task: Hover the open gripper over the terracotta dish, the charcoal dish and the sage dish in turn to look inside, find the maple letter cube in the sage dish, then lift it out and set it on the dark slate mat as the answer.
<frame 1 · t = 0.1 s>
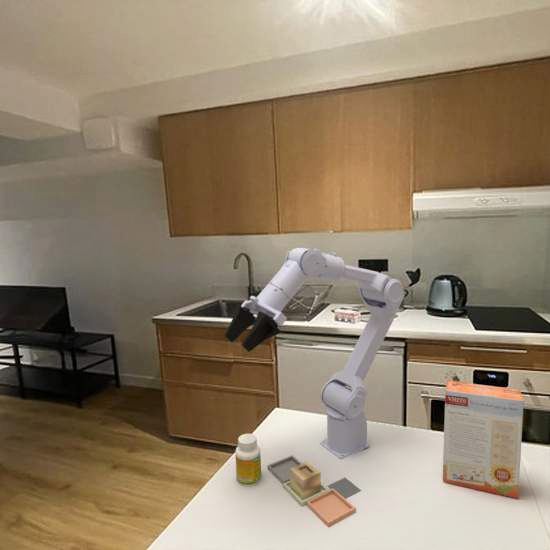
hand: (236, 343, 79), 32 cm above the countertop, tool tilted 50°, fingers open, 7 cm apart
sage dish: (305, 491, 83), on the countertop
letter cube: (305, 490, 83), resting on sage dish
slate mat: (344, 489, 83), on the countertop
terracotta dish: (330, 509, 78), on the countertop
cracker box: (478, 483, 84), on the countertop
charcoal dish: (288, 472, 89), on the countertop
supplement bottle: (249, 480, 87), on the countertop
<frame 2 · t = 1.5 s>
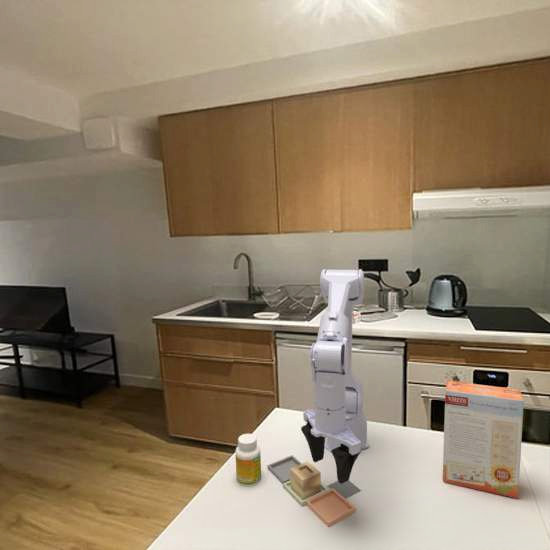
hand: (330, 470, 76), 8 cm above the countertop, tool pointing down, fingers open, 7 cm apart
nothing on the countertop moved.
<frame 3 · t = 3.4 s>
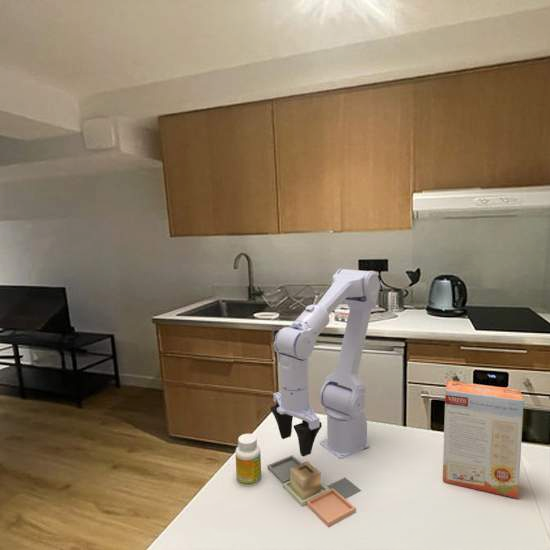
hand: (295, 445, 85), 8 cm above the countertop, tool pointing down, fingers open, 7 cm apart
nothing on the countertop moved.
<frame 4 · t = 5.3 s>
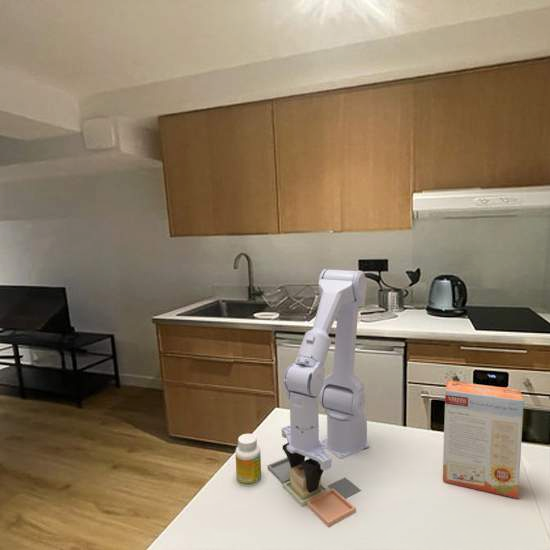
hand: (305, 483, 83), 2 cm above the countertop, tool pointing down, fingers closed on letter cube, 4 cm apart
letter cube: (305, 490, 83), resting on sage dish, touching gripper
everything else where it was.
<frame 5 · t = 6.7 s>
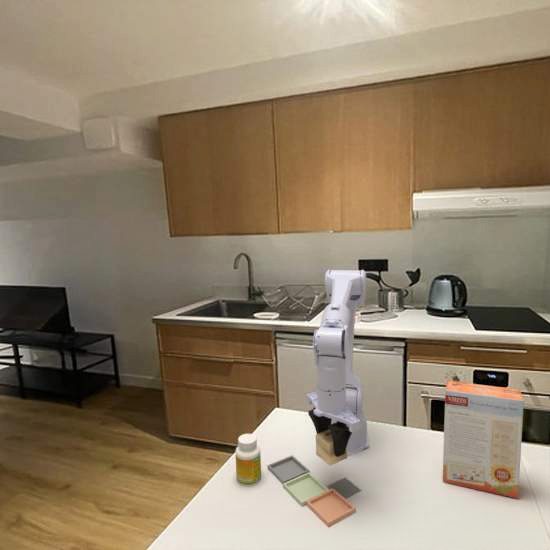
hand: (331, 448, 82), 9 cm above the countertop, tool pointing down, fingers closed on letter cube, 4 cm apart
letter cube: (331, 456, 82), point 8 cm above the countertop, touching gripper
everything else where it was.
when the fingers open (3 cm above the countertop, at t = 8.5 s): letter cube drops 1 cm, resting on slate mat.
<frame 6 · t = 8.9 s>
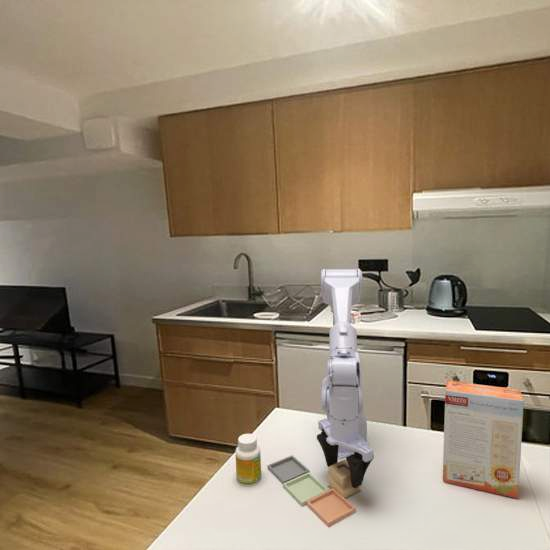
hand: (344, 475, 83), 3 cm above the countertop, tool pointing down, fingers open, 7 cm apart
letter cube: (343, 488, 83), resting on slate mat
everything else where it was.
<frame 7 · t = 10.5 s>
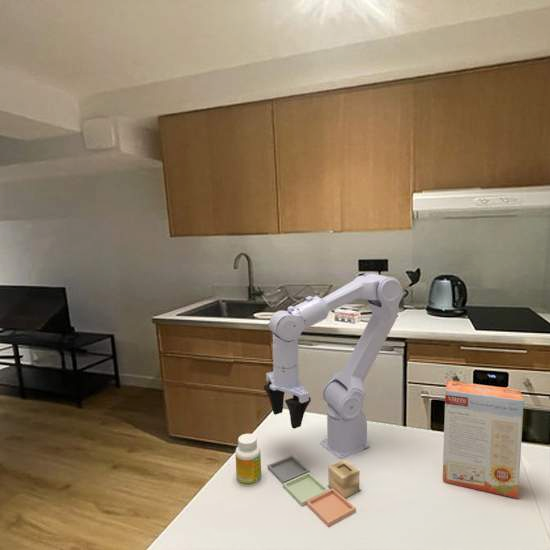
hand: (286, 419, 93), 10 cm above the countertop, tool pointing down, fingers open, 7 cm apart
nothing on the countertop moved.
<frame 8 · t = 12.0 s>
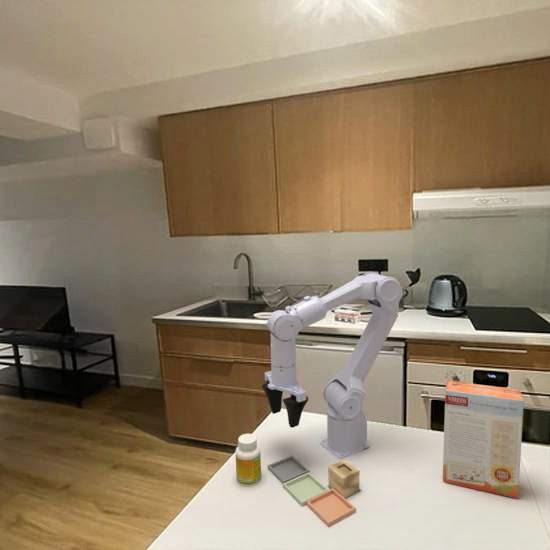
hand: (284, 418, 93), 10 cm above the countertop, tool pointing down, fingers open, 7 cm apart
nothing on the countertop moved.
at the end: letter cube 0.1 cm off-centre on the slate mat, point 0.3 cm above the slate mat's base; letter cube tilted 0°; the gripper is holding nothing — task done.
